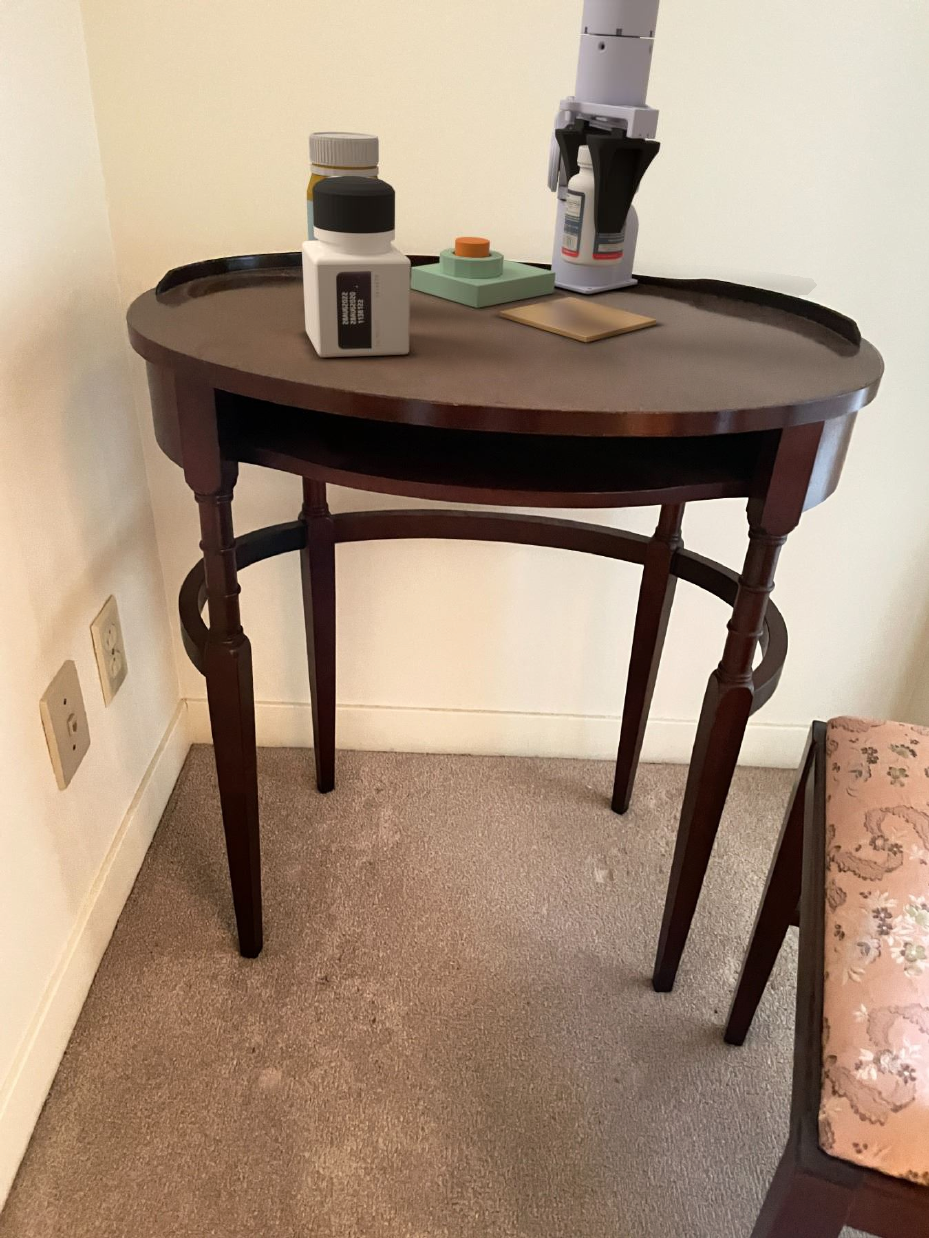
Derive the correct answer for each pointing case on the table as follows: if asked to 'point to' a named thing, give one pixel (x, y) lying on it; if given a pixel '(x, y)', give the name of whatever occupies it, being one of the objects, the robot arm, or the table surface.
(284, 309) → the table surface
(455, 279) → the base
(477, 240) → the orange button cap
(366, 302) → the container
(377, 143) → the bottle
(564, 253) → the pill bottle
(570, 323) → the coaster
